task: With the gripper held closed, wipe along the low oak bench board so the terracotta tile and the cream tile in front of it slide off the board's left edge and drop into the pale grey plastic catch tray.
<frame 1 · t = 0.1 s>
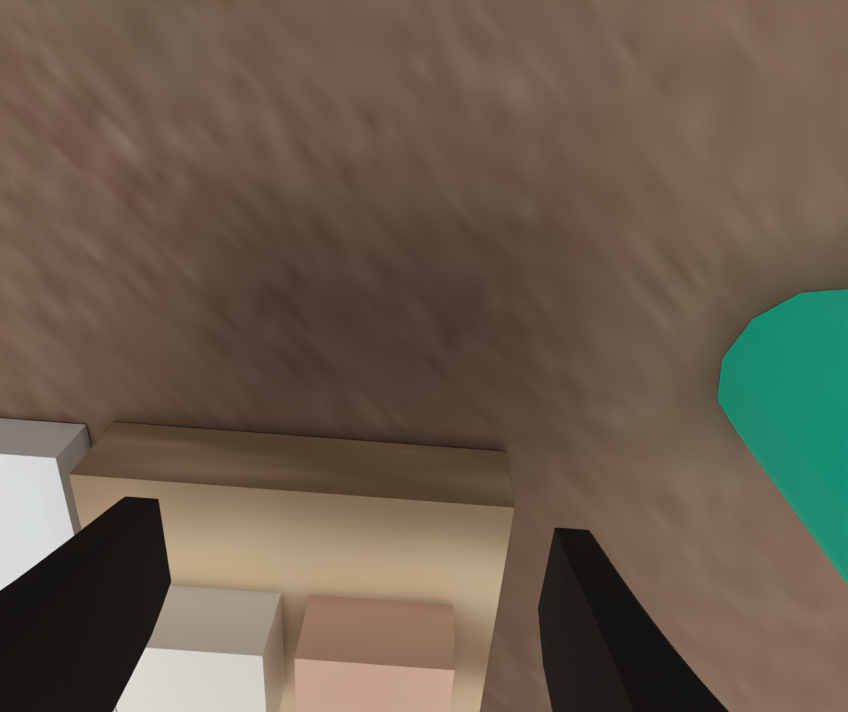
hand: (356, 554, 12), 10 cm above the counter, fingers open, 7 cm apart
candle: (807, 370, 21), on the counter
bench board: (312, 580, 26), on the counter
terracotta tile: (379, 649, 23), point 3 cm above the counter, touching bench board
cream tile: (214, 637, 23), point 3 cm above the counter, touching bench board
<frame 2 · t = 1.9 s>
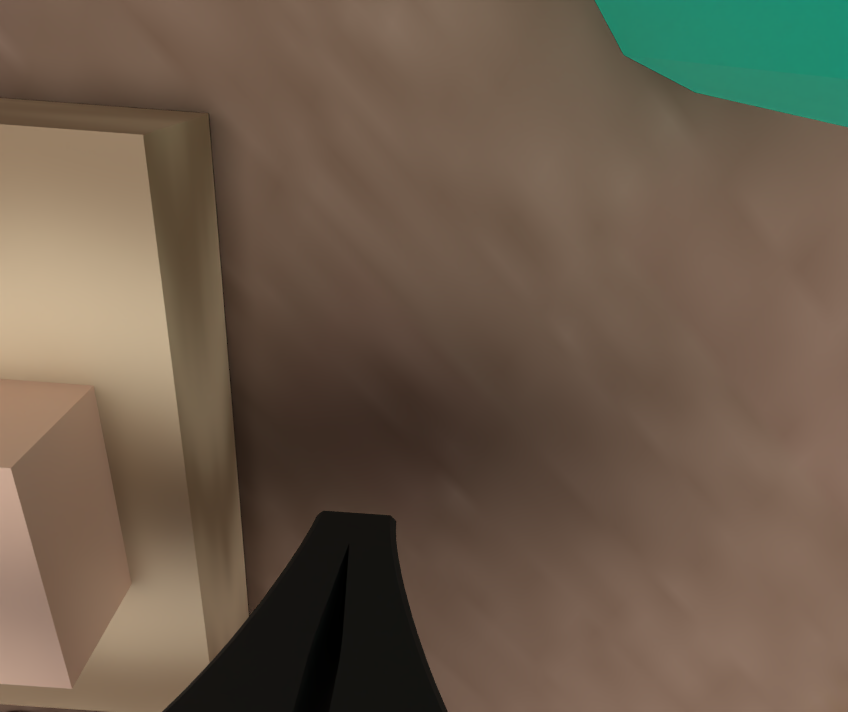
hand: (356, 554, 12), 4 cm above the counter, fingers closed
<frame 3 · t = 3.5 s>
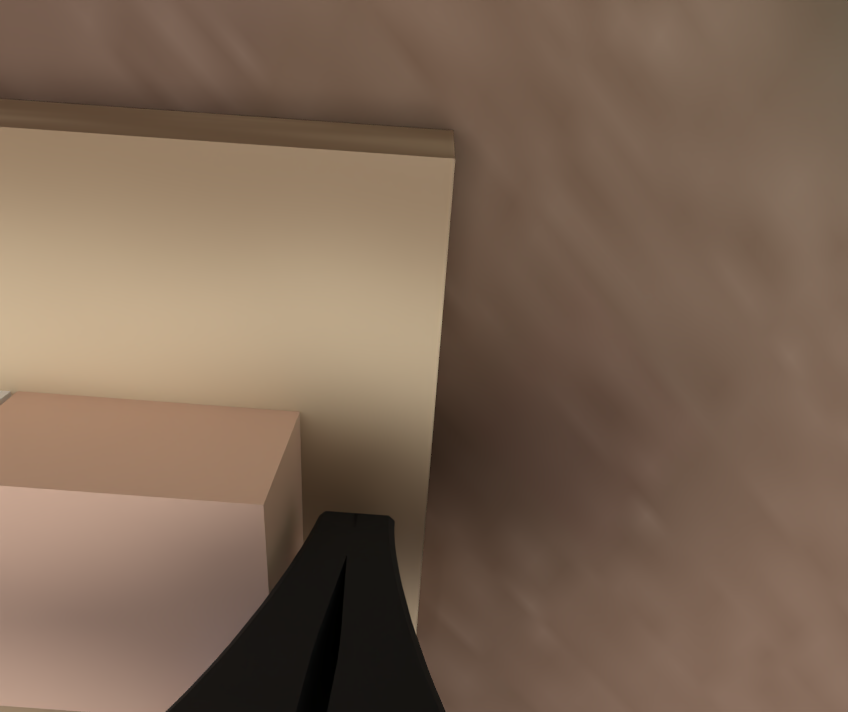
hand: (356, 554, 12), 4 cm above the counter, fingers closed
bench board: (133, 420, 15), on the counter
terracotta tile: (174, 511, 12), point 3 cm above the counter, touching bench board, gripper
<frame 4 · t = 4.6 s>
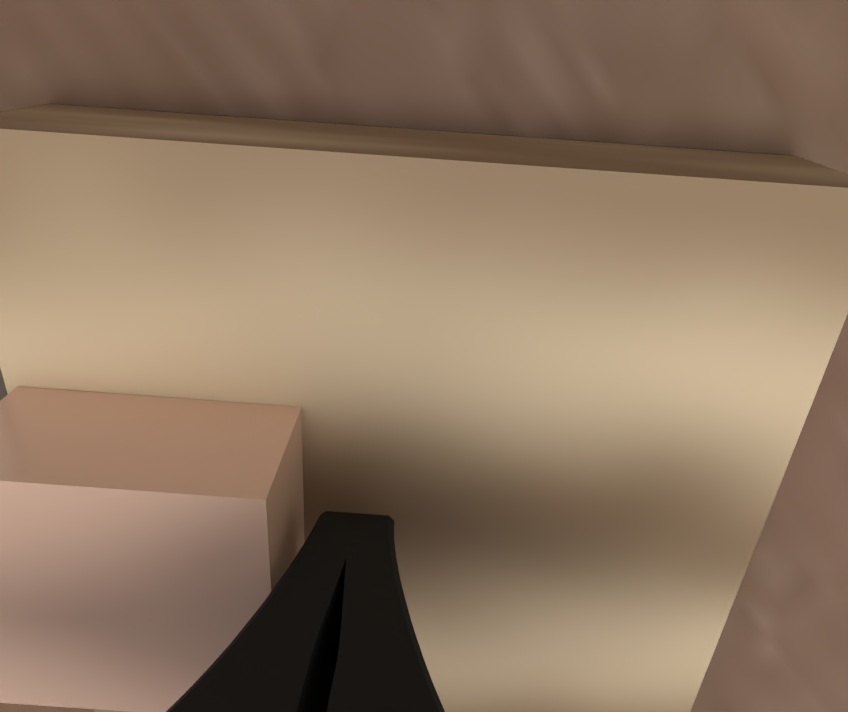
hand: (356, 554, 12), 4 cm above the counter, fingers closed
bench board: (404, 439, 15), on the counter
terracotta tile: (175, 507, 12), point 3 cm above the counter, touching gripper
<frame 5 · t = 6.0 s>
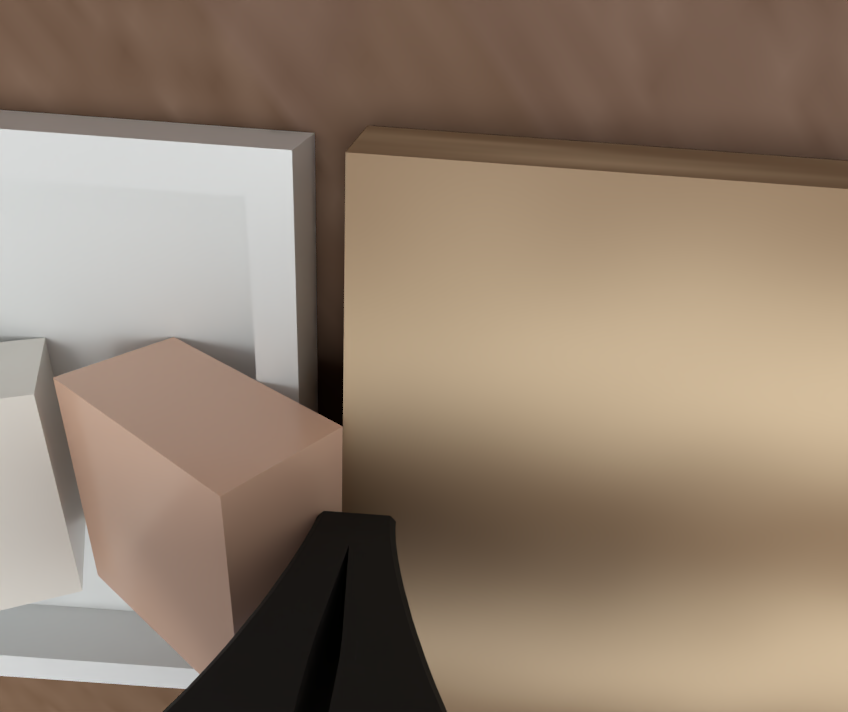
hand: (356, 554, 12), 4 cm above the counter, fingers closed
bench board: (654, 457, 15), on the counter
terracotta tile: (256, 480, 13), point 2 cm above the counter, tilted 36°, touching catch tray, gripper
catch tray: (107, 418, 15), on the counter
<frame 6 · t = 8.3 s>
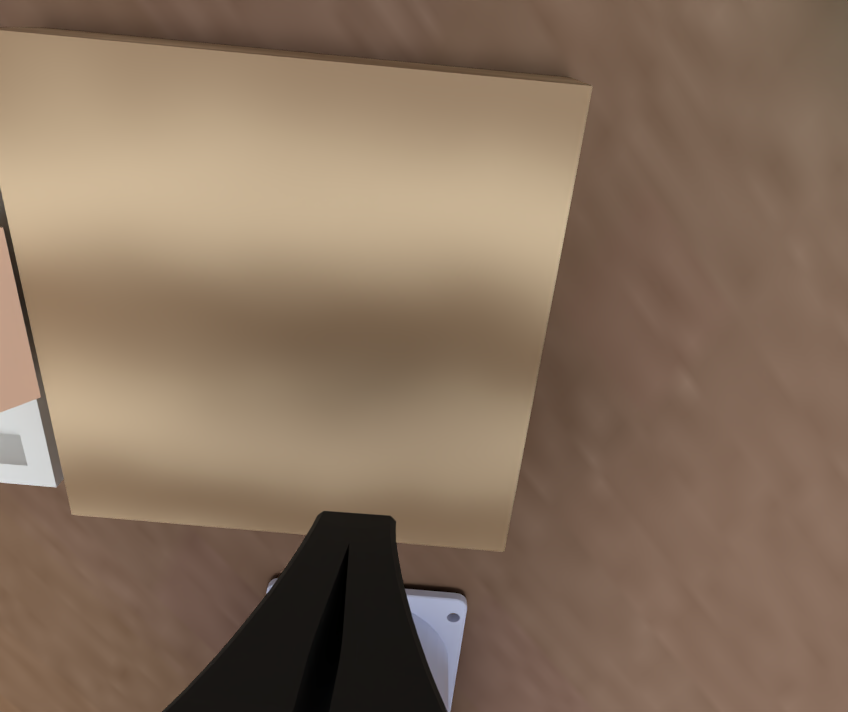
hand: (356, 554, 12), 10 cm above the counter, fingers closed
bench board: (306, 297, 20), on the counter
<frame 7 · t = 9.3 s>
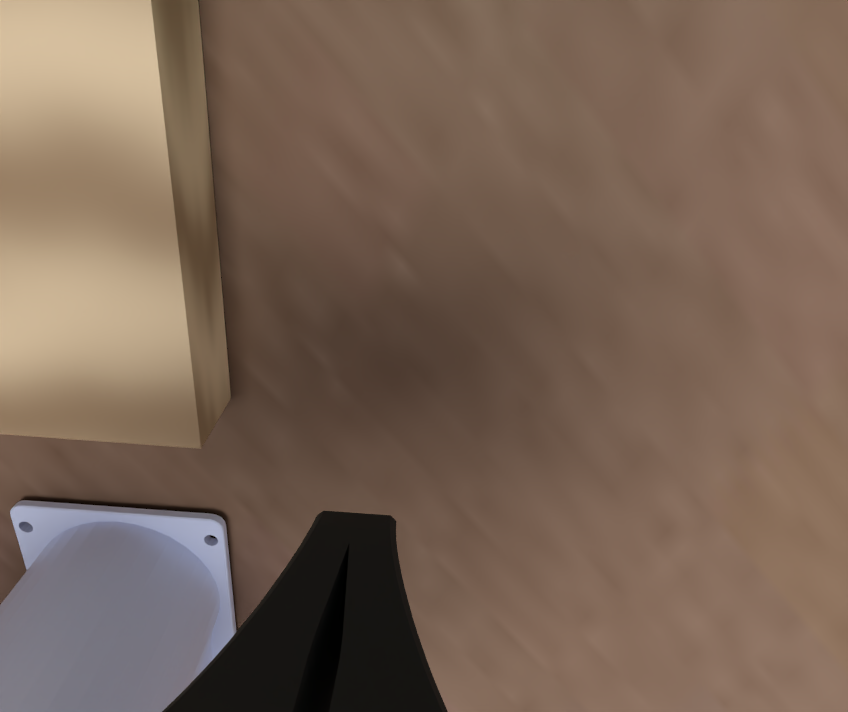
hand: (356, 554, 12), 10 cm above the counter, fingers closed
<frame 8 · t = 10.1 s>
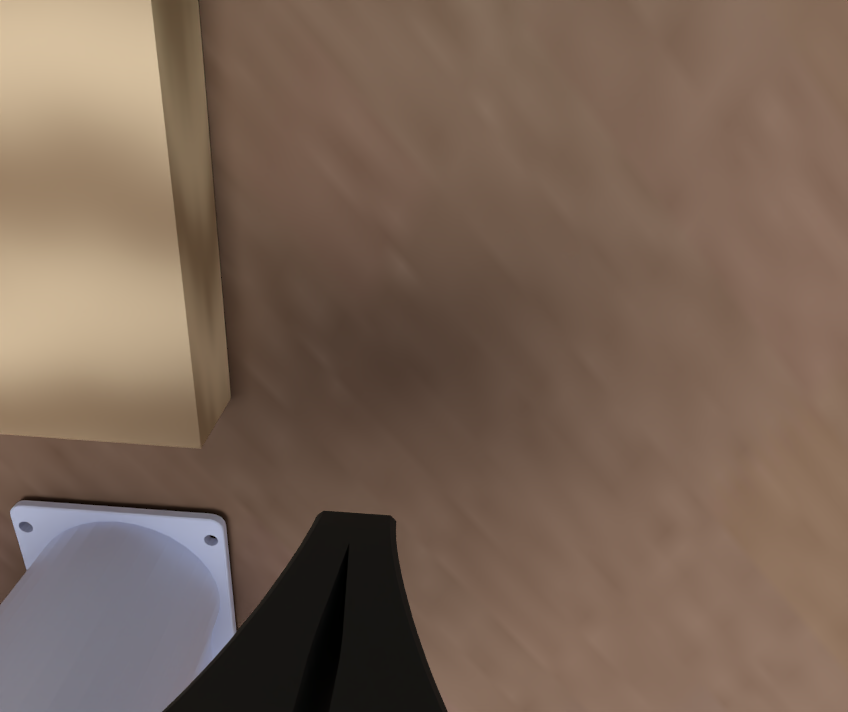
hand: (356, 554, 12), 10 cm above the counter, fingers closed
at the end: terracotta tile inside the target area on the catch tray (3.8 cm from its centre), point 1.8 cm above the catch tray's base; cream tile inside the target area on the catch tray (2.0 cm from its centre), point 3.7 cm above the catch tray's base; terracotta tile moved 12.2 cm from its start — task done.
